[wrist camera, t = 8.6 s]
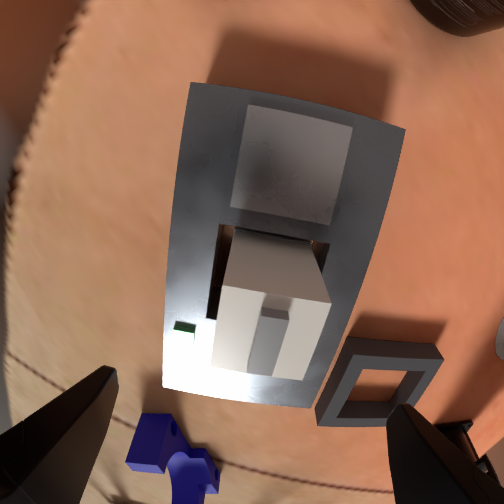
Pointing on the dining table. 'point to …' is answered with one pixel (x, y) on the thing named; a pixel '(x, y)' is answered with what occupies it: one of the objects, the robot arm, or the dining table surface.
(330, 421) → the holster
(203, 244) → the port panel
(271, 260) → the plug
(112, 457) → the dining table surface
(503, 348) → the french press
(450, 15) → the supplement bottle
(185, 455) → the cable clip
